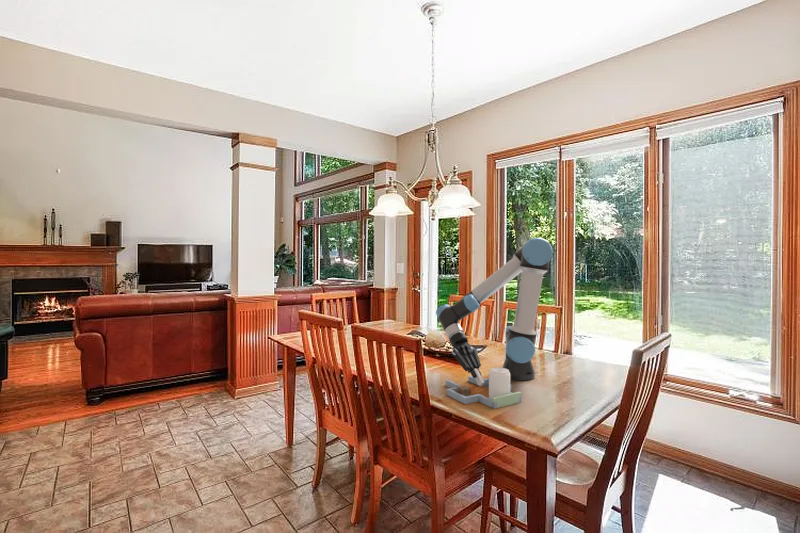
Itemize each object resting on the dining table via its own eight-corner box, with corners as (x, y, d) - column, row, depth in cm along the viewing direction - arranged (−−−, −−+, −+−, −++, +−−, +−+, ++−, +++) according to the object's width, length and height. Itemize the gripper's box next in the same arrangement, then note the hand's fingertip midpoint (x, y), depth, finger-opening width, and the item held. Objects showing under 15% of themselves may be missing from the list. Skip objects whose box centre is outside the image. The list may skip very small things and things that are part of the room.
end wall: (492, 408, 145) (492, 397, 145) (519, 401, 152) (519, 391, 152) (494, 409, 144) (494, 398, 144) (521, 402, 151) (521, 392, 151)
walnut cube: (456, 396, 156) (456, 386, 156) (464, 395, 158) (464, 385, 158) (462, 399, 153) (462, 389, 153) (470, 398, 155) (470, 388, 155)
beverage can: (484, 398, 156) (484, 368, 155) (500, 395, 159) (500, 366, 159) (497, 405, 148) (498, 373, 148) (514, 402, 152) (514, 371, 152)
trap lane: (433, 388, 167) (433, 382, 167) (481, 378, 181) (481, 373, 180) (480, 412, 141) (480, 405, 141) (533, 399, 154) (533, 393, 154)
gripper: (463, 339, 180) (488, 386, 166) (440, 342, 173) (464, 391, 159) (471, 329, 175) (498, 377, 161) (448, 332, 169) (473, 382, 155)
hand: (481, 384), depth 160 cm, fingers closed
